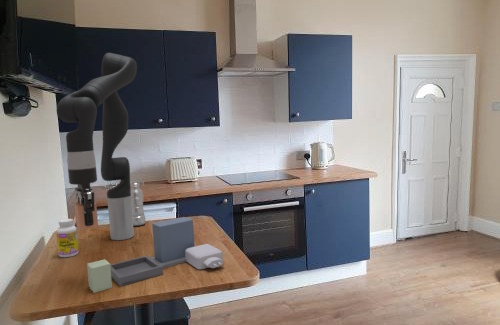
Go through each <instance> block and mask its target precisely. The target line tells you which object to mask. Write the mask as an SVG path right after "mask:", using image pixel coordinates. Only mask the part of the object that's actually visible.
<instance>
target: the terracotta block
mask: <svg viewBox="0 0 500 325" xmlns="http://www.w3.org/2000/svg"><path fill="white" fill-rule="evenodd" d="M87 208H90V205H87ZM94 208H95V211H93V212H92V213H93V225H91V226H86V225H85V219H84V213H83V206H81V205H80V203H77V202H76V203H74V212H75V224H76V226H75V227H76V228H77V230H79V231H83V230H89V229H93V228H99V221H98V209H97V203H96V202H95V201H94Z"/></svg>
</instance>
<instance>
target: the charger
mask: <svg viewBox="0 0 500 325" xmlns="http://www.w3.org/2000/svg"><path fill="white" fill-rule="evenodd" d="M223 256H224V254H223V251H222V250H221V249H219V248H216V247H215V246H214V245H211V244H210V243H205V244H201V245H195V247H191V248H188V249H186V250H185V259H186V261H187V262H186V263H188V264H190V265H191V266H192V267H194V268H195V269H197V270H199V271H200V270H204V269H208V268H211V269H215V268H219V267H220V266H223V265H224V262H225V260H224V257H223Z"/></svg>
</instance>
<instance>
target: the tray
mask: <svg viewBox="0 0 500 325" xmlns="http://www.w3.org/2000/svg"><path fill="white" fill-rule="evenodd" d="M150 257H151V256H150ZM150 257H149V256H148V255H143V256H139V257H134V258H131V259H127V260H123V261H119V262H116V263H110V269H111V280H113V281H114V282H115V283H116V284H117V285H118V286H119V287H120V288H121V287H123V286H127V285H131V284H133V283H137V282H141V281H145V280H148V279H151V278H155V277H159V276H162V275H164V268H163V266H162V265H160V264H159V263H157V262H156V261H154V260H153V259H151V258H150Z"/></svg>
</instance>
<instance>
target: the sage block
mask: <svg viewBox="0 0 500 325" xmlns="http://www.w3.org/2000/svg"><path fill="white" fill-rule="evenodd" d="M110 265H111V263H110V262H109V261H107V260H106V259H105V258H104V259H101V260H96V261H92V262H87V263H86V266H87V267H86V270H87V278H88V287H90V288H89V289H90V290H91V291H93V292H92V293H93V294H95V293H99V292H102V291H105V290H108V289H112V288H113V284H112V278H111V269H110Z"/></svg>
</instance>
